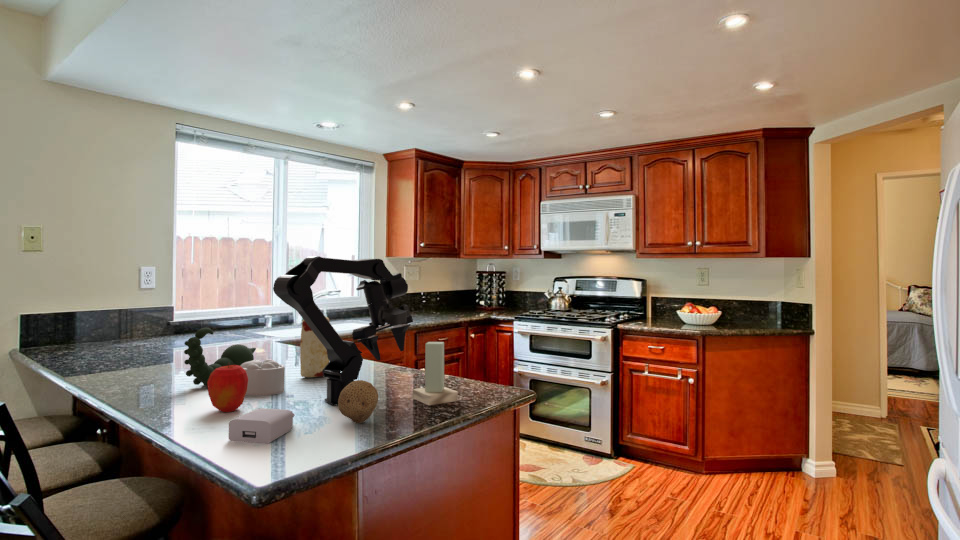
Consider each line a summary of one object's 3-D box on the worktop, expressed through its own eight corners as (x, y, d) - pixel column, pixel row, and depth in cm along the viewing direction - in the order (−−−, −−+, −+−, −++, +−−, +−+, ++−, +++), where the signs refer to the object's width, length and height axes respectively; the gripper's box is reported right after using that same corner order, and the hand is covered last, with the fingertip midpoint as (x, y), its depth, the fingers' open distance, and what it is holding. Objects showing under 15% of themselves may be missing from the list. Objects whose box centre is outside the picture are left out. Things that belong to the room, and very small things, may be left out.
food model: (303, 380, 161) (304, 317, 161) (296, 376, 167) (297, 315, 167) (333, 376, 167) (334, 316, 167) (325, 373, 173) (326, 314, 173)
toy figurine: (204, 398, 144) (268, 374, 167) (200, 332, 142) (265, 317, 166) (179, 395, 147) (245, 371, 171) (175, 330, 146) (242, 315, 169)
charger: (306, 423, 117) (270, 445, 102) (269, 421, 119) (228, 442, 104) (306, 402, 117) (270, 421, 102) (269, 400, 119) (228, 418, 104)
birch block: (428, 407, 134) (428, 396, 134) (412, 400, 141) (412, 389, 141) (457, 402, 139) (457, 391, 139) (440, 395, 146) (440, 385, 146)
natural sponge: (368, 431, 111) (368, 385, 111) (330, 428, 113) (330, 383, 113) (383, 419, 120) (384, 377, 120) (348, 417, 122) (348, 375, 122)
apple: (229, 404, 132) (230, 357, 132) (256, 408, 129) (257, 360, 129) (198, 413, 123) (198, 363, 123) (225, 417, 120) (226, 366, 120)
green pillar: (425, 392, 138) (425, 343, 138) (428, 388, 142) (428, 341, 143) (441, 392, 138) (441, 344, 138) (444, 388, 142) (444, 341, 142)
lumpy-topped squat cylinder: (253, 386, 153) (253, 357, 153) (292, 388, 151) (292, 359, 151) (229, 394, 143) (230, 363, 143) (271, 397, 140) (272, 365, 140)
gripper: (371, 304, 132) (386, 363, 132) (419, 291, 147) (432, 343, 147) (344, 311, 139) (358, 366, 139) (393, 297, 154) (406, 347, 154)
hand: (390, 355), depth 145 cm, fingers open, 9 cm apart
